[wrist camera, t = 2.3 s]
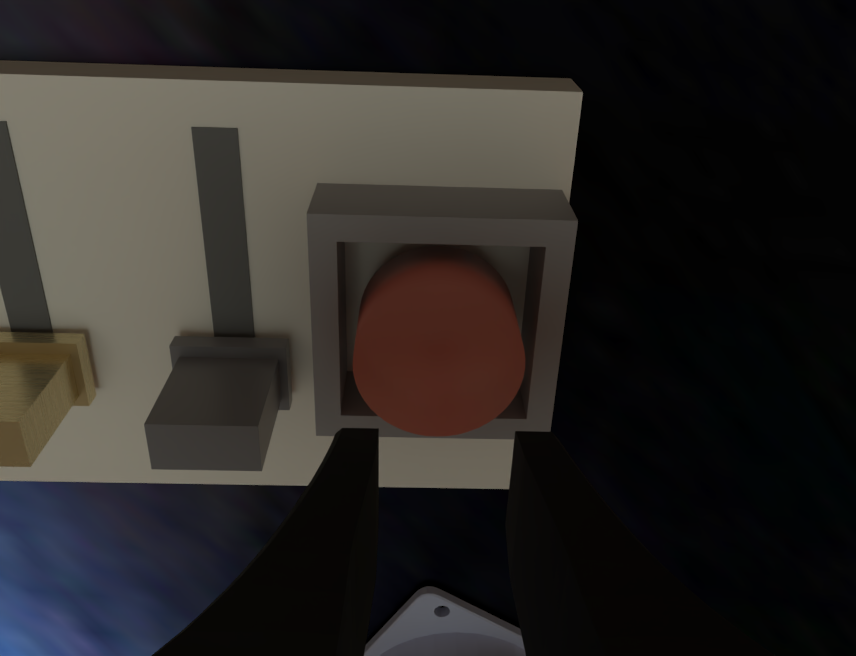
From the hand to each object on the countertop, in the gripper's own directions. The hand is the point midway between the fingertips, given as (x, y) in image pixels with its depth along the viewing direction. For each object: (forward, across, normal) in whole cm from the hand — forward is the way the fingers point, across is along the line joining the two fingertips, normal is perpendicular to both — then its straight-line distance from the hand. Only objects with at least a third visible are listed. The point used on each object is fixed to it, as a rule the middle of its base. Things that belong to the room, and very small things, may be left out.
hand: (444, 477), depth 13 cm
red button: (+6, 0, 0) cm, 6 cm away
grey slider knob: (+7, +5, +2) cm, 9 cm away
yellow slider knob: (+7, +10, +2) cm, 12 cm away
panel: (+8, +5, 0) cm, 10 cm away
